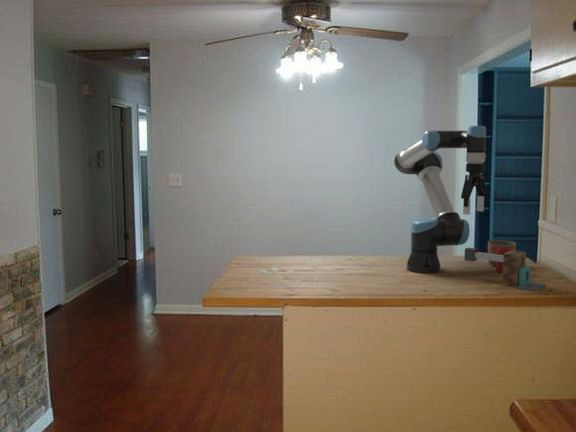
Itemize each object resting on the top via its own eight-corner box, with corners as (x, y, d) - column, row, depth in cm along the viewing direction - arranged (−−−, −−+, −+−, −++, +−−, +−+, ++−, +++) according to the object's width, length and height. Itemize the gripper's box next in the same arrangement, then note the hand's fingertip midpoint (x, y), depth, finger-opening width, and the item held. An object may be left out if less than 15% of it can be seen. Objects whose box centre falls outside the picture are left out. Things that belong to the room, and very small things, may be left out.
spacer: (518, 285, 237) (519, 268, 236) (524, 282, 243) (525, 265, 242) (523, 286, 236) (524, 269, 235) (529, 282, 241) (530, 266, 240)
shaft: (464, 260, 253) (464, 248, 252) (468, 258, 256) (468, 247, 255) (518, 267, 238) (519, 255, 237) (522, 266, 241) (522, 254, 240)
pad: (516, 288, 235) (516, 286, 235) (526, 282, 245) (526, 281, 244) (536, 291, 231) (536, 289, 231) (545, 285, 240) (546, 283, 240)
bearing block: (502, 284, 241) (503, 253, 239) (509, 280, 247) (511, 250, 246) (517, 287, 237) (518, 255, 235) (524, 283, 244) (526, 252, 242)
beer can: (512, 273, 260) (513, 247, 258) (496, 273, 261) (498, 246, 259) (510, 270, 266) (511, 244, 265) (494, 269, 267) (495, 243, 266)
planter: (520, 265, 276) (521, 242, 274) (503, 269, 269) (505, 245, 267) (497, 261, 286) (498, 239, 284) (481, 264, 279) (482, 241, 277)
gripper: (471, 164, 236) (469, 216, 239) (496, 161, 255) (493, 210, 258) (453, 163, 241) (451, 215, 244) (479, 161, 260) (477, 209, 263)
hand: (473, 212), depth 251 cm, fingers open, 13 cm apart
